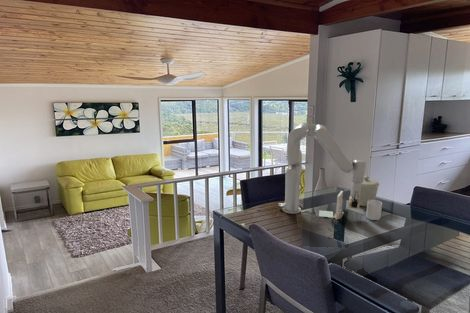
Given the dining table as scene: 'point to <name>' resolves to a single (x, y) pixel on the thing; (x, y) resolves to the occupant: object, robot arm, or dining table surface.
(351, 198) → the letter cube
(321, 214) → the mat
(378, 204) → the mug
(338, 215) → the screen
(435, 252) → the dining table surface
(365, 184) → the canister
